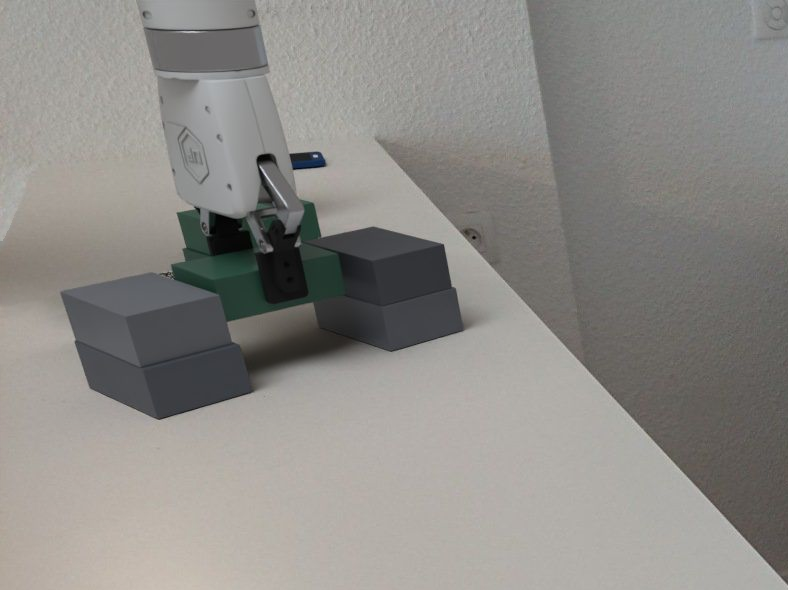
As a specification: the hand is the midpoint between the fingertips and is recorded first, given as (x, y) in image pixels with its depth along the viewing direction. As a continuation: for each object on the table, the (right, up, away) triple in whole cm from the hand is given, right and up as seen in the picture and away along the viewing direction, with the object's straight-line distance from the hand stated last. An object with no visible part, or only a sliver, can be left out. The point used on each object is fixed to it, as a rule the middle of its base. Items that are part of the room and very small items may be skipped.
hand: (262, 289), depth 102 cm
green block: (0, -1, 0) cm, 1 cm away
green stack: (-13, +6, +24) cm, 28 cm away
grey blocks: (+1, -5, +3) cm, 6 cm away
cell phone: (-38, +31, +72) cm, 87 cm away
